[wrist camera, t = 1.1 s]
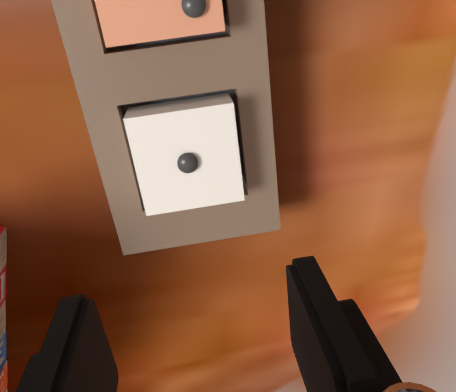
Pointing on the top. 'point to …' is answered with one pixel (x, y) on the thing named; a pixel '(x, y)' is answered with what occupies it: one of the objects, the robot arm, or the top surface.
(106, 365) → the robot arm
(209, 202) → the tile one
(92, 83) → the tile panel
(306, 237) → the top surface
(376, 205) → the top surface
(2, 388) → the stack of blocks
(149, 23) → the tile three
